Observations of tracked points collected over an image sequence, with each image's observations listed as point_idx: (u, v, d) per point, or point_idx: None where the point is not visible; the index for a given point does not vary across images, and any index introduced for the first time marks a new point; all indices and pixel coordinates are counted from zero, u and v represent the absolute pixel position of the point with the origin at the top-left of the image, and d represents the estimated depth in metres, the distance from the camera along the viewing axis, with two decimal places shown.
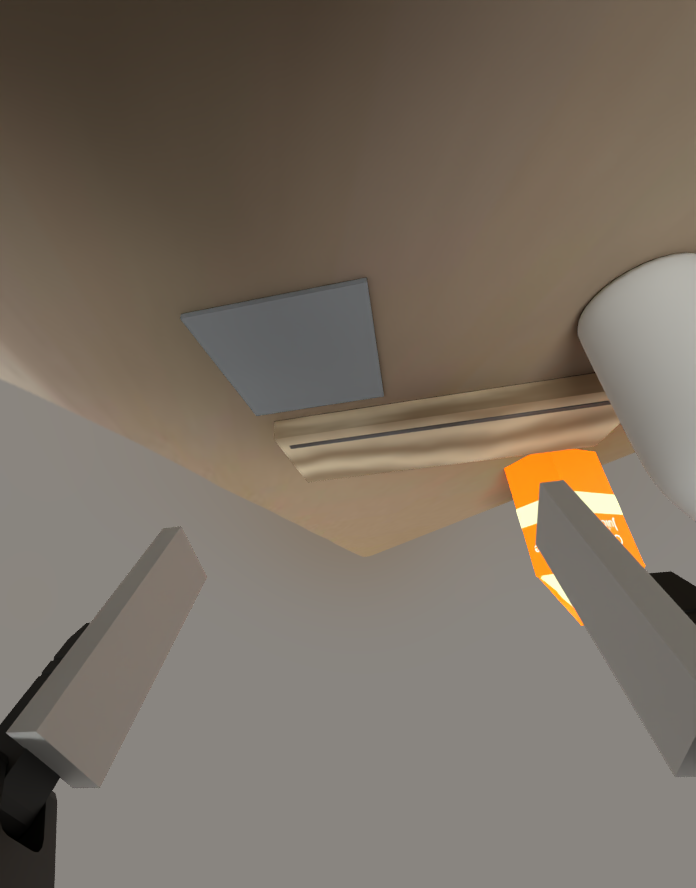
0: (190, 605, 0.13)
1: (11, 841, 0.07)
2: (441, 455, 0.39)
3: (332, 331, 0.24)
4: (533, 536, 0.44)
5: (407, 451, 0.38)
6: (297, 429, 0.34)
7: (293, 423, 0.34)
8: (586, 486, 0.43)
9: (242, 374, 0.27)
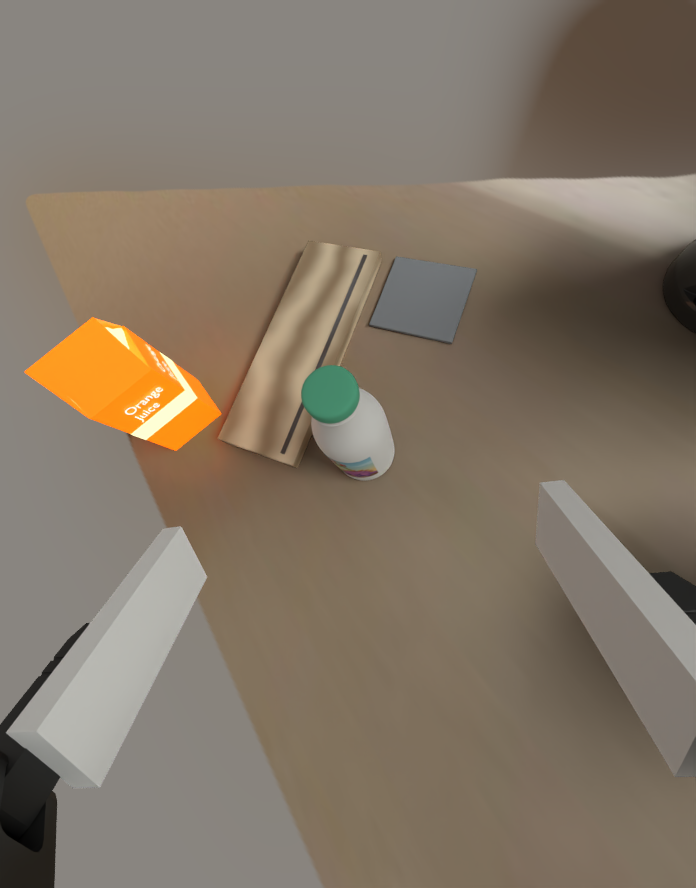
0: (190, 605, 0.13)
1: (11, 841, 0.07)
2: (285, 334, 0.51)
3: (434, 319, 0.49)
4: (156, 353, 0.45)
5: (308, 315, 0.51)
6: (375, 268, 0.52)
7: (377, 269, 0.53)
8: (176, 419, 0.47)
9: (432, 270, 0.51)
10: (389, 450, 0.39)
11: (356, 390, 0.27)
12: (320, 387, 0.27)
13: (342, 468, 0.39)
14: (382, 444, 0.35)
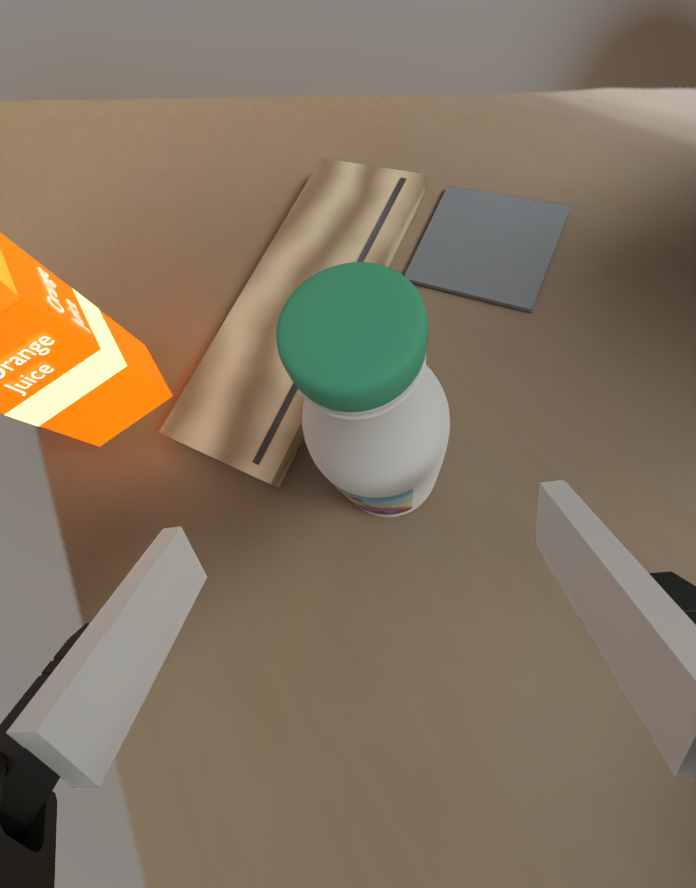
0: (190, 605, 0.13)
1: (11, 841, 0.07)
2: (276, 284, 0.34)
3: (503, 275, 0.32)
4: (61, 287, 0.27)
5: (312, 259, 0.34)
6: (416, 199, 0.35)
7: (418, 202, 0.36)
8: (92, 398, 0.30)
9: (501, 205, 0.34)
10: None
11: (426, 325, 0.10)
12: (328, 313, 0.10)
13: (353, 501, 0.22)
14: (438, 465, 0.18)
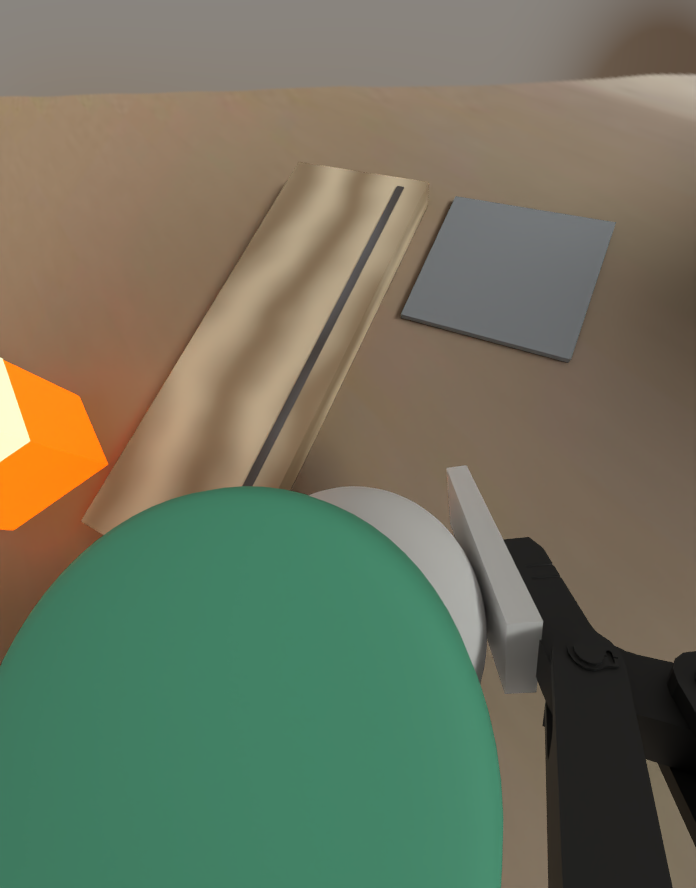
0: None
1: None
2: (239, 322, 0.27)
3: (531, 312, 0.25)
4: None
5: (285, 290, 0.27)
6: (417, 213, 0.28)
7: (419, 216, 0.29)
8: None
9: (524, 221, 0.27)
10: None
11: (500, 841, 0.02)
12: (127, 728, 0.03)
13: None
14: None
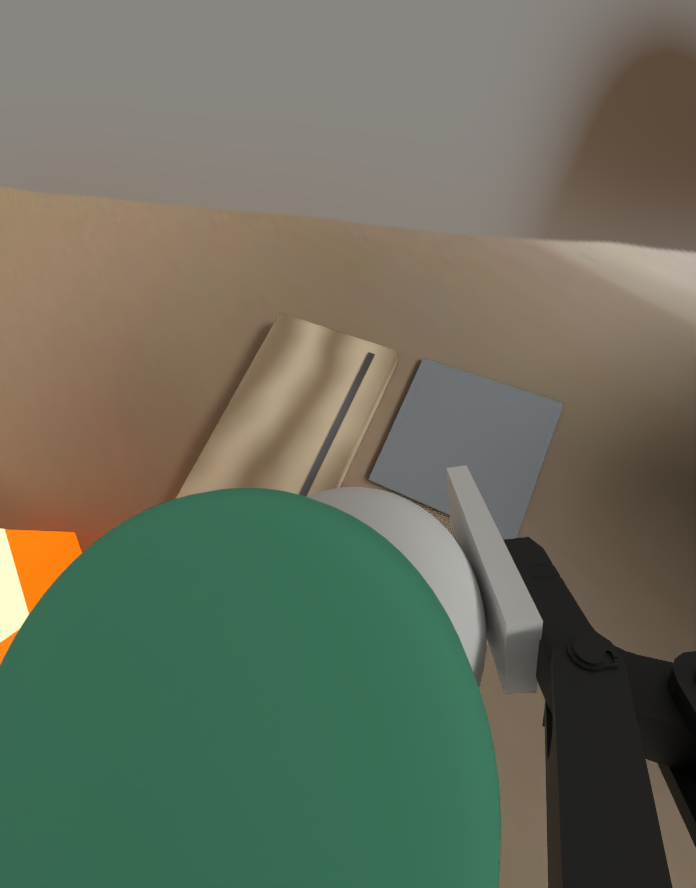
0: None
1: None
2: (220, 483, 0.29)
3: (483, 490, 0.27)
4: None
5: (263, 453, 0.29)
6: (386, 378, 0.30)
7: (389, 377, 0.31)
8: None
9: (483, 393, 0.29)
10: None
11: (498, 843, 0.02)
12: (125, 730, 0.03)
13: None
14: None
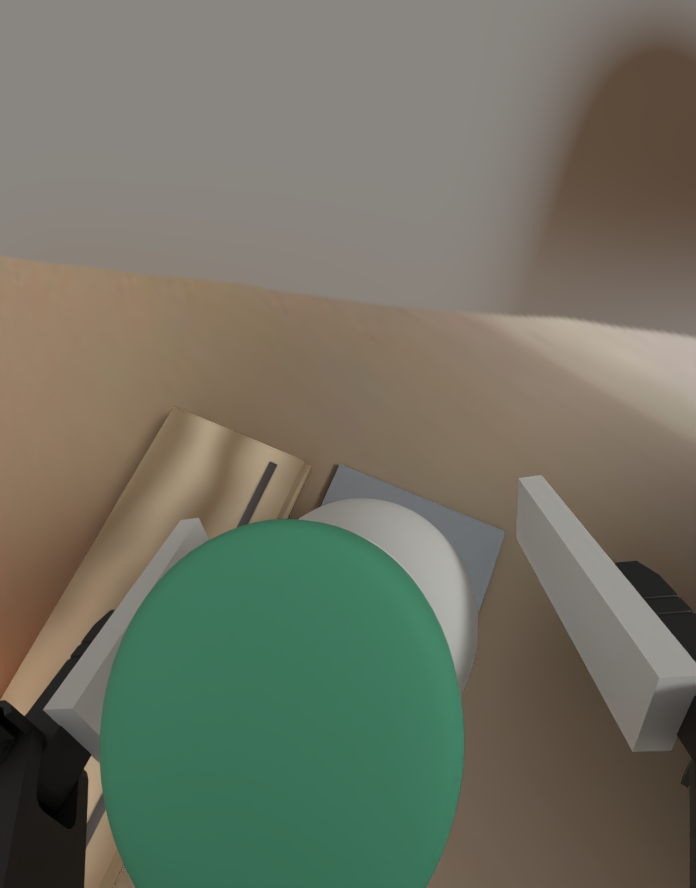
0: None
1: (47, 817, 0.07)
2: (83, 632, 0.23)
3: None
4: None
5: None
6: (292, 493, 0.25)
7: (298, 489, 0.25)
8: None
9: None
10: None
11: (460, 756, 0.04)
12: (216, 686, 0.04)
13: None
14: None
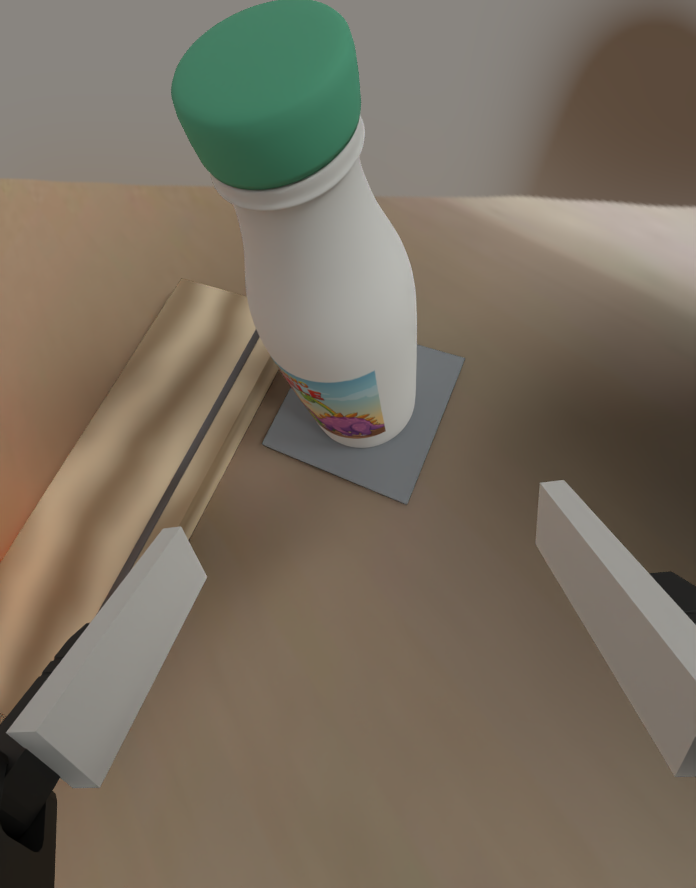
0: (190, 605, 0.13)
1: (11, 841, 0.07)
2: (106, 451, 0.28)
3: (378, 450, 0.26)
4: None
5: (152, 419, 0.28)
6: None
7: None
8: None
9: None
10: (411, 383, 0.20)
11: (350, 49, 0.08)
12: (232, 48, 0.08)
13: (317, 409, 0.20)
14: (403, 347, 0.16)
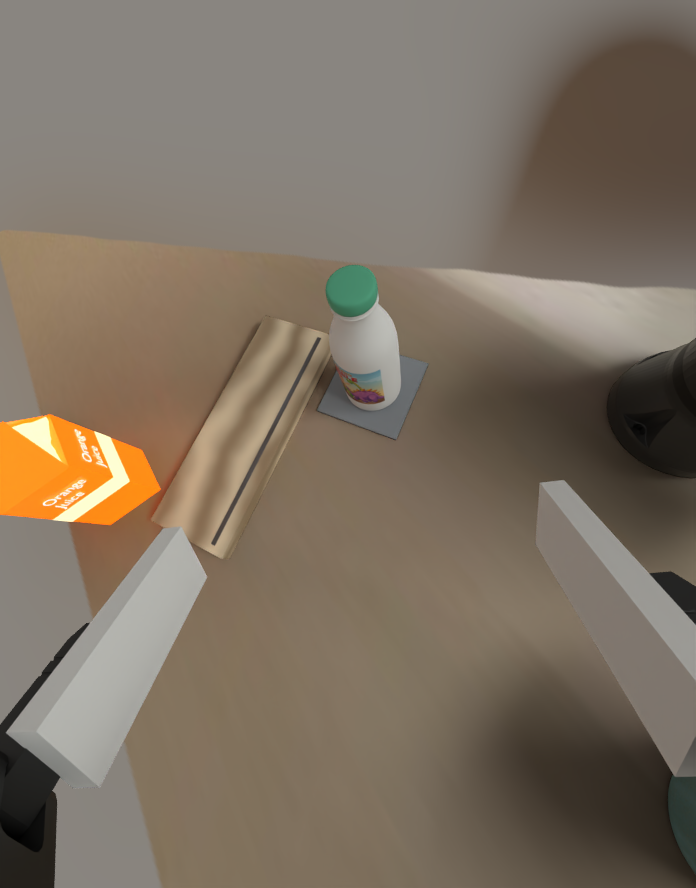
0: (190, 605, 0.13)
1: (11, 841, 0.07)
2: (231, 414, 0.50)
3: (381, 412, 0.48)
4: (88, 436, 0.43)
5: (256, 396, 0.50)
6: (328, 352, 0.51)
7: (330, 352, 0.52)
8: (106, 501, 0.45)
9: None
10: (397, 375, 0.43)
11: (375, 285, 0.30)
12: (343, 281, 0.31)
13: (352, 387, 0.42)
14: (392, 360, 0.38)
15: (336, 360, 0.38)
